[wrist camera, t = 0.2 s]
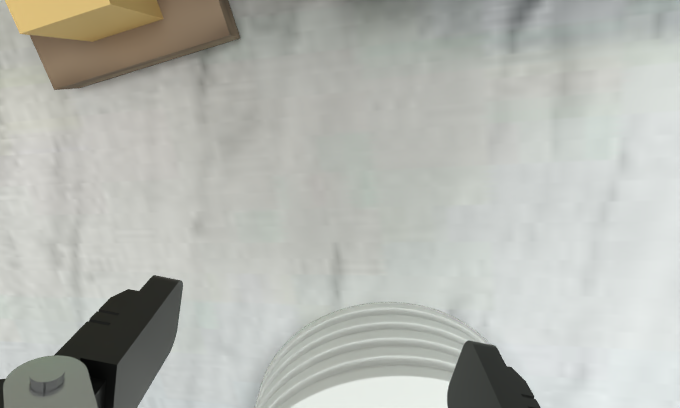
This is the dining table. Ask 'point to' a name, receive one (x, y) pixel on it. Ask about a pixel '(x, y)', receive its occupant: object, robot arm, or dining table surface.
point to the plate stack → (368, 359)
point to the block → (82, 17)
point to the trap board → (138, 43)
